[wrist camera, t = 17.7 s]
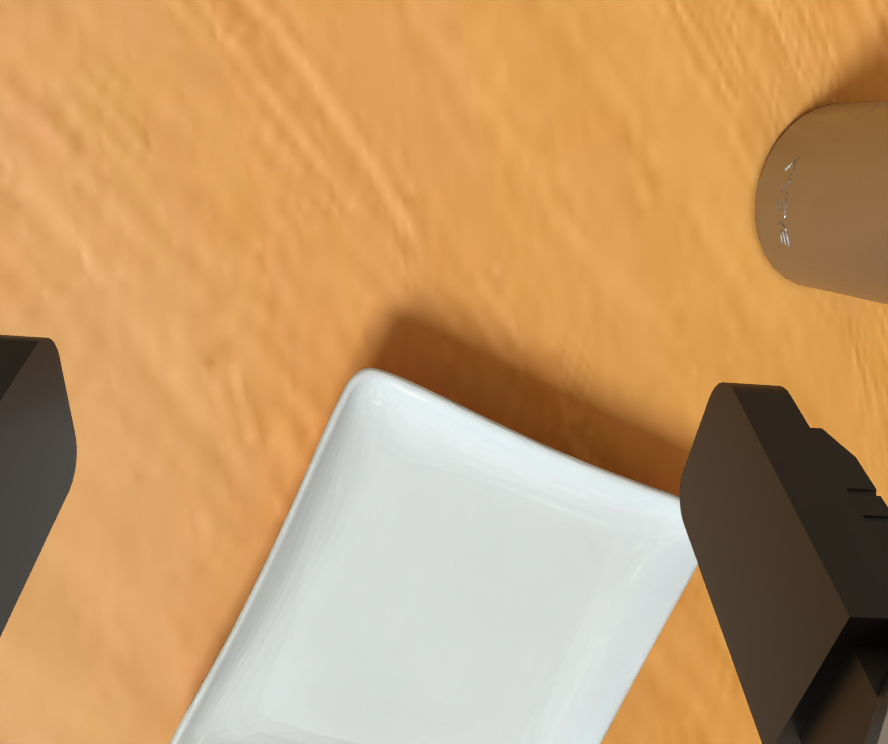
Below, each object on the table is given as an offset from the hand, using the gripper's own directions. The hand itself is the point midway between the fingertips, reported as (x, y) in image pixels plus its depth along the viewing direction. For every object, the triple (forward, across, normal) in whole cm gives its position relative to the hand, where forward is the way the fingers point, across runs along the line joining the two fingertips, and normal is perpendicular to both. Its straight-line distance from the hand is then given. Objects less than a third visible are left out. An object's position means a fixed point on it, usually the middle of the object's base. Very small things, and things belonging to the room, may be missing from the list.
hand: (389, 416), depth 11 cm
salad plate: (+19, -4, +28) cm, 34 cm away
